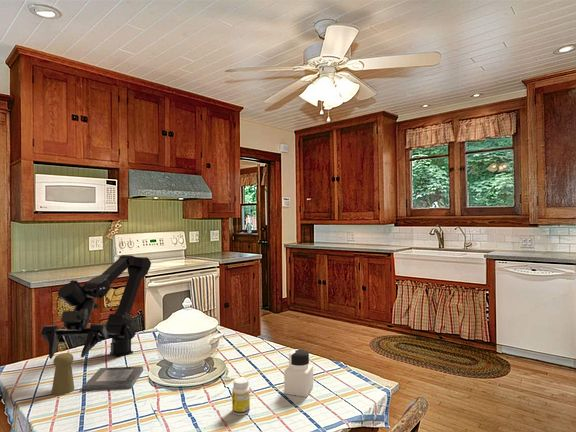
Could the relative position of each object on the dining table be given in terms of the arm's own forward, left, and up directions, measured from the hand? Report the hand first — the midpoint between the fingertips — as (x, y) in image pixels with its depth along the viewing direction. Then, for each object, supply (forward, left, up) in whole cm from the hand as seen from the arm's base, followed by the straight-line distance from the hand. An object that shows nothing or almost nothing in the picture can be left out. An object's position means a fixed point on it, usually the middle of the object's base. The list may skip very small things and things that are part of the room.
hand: (66, 357), depth 116 cm
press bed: (-13, +6, -9) cm, 17 cm away
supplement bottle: (-26, +52, -9) cm, 58 cm away
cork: (+1, +2, -9) cm, 10 cm away
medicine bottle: (-46, +56, -9) cm, 73 cm away
